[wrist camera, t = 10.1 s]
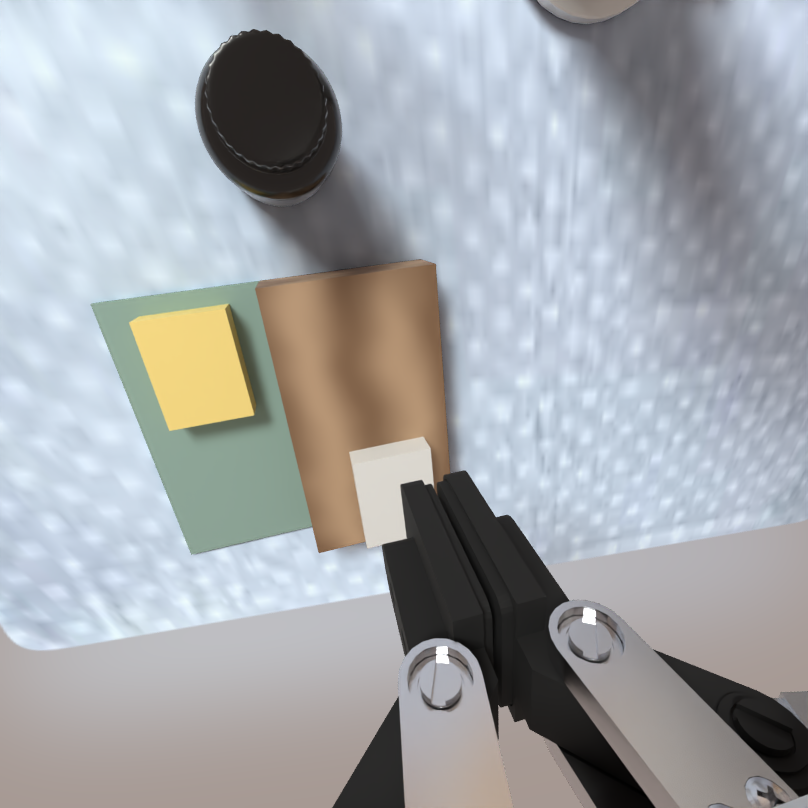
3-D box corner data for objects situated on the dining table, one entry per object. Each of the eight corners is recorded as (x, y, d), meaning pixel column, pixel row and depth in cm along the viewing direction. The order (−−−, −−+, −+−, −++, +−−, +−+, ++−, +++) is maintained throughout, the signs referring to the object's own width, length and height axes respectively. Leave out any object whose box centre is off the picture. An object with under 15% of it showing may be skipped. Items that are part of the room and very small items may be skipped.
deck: (420, 259, 33) (435, 263, 29) (439, 494, 42) (453, 520, 38) (259, 280, 31) (254, 288, 27) (316, 523, 40) (318, 553, 36)
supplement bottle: (326, 214, 30) (343, 210, 19) (221, 198, 28) (177, 184, 18) (333, 99, 28) (358, 22, 17) (219, 73, 26) (167, -31, 15)
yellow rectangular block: (128, 322, 28) (138, 316, 30) (169, 431, 31) (176, 419, 33) (225, 308, 29) (228, 303, 31) (254, 415, 32) (256, 405, 34)
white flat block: (423, 436, 34) (430, 448, 32) (431, 516, 38) (438, 531, 36) (349, 451, 33) (352, 465, 31) (363, 532, 37) (367, 548, 35)
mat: (273, 279, 31) (273, 279, 31) (327, 520, 40) (327, 522, 40) (92, 303, 29) (90, 304, 29) (192, 552, 38) (191, 554, 38)
